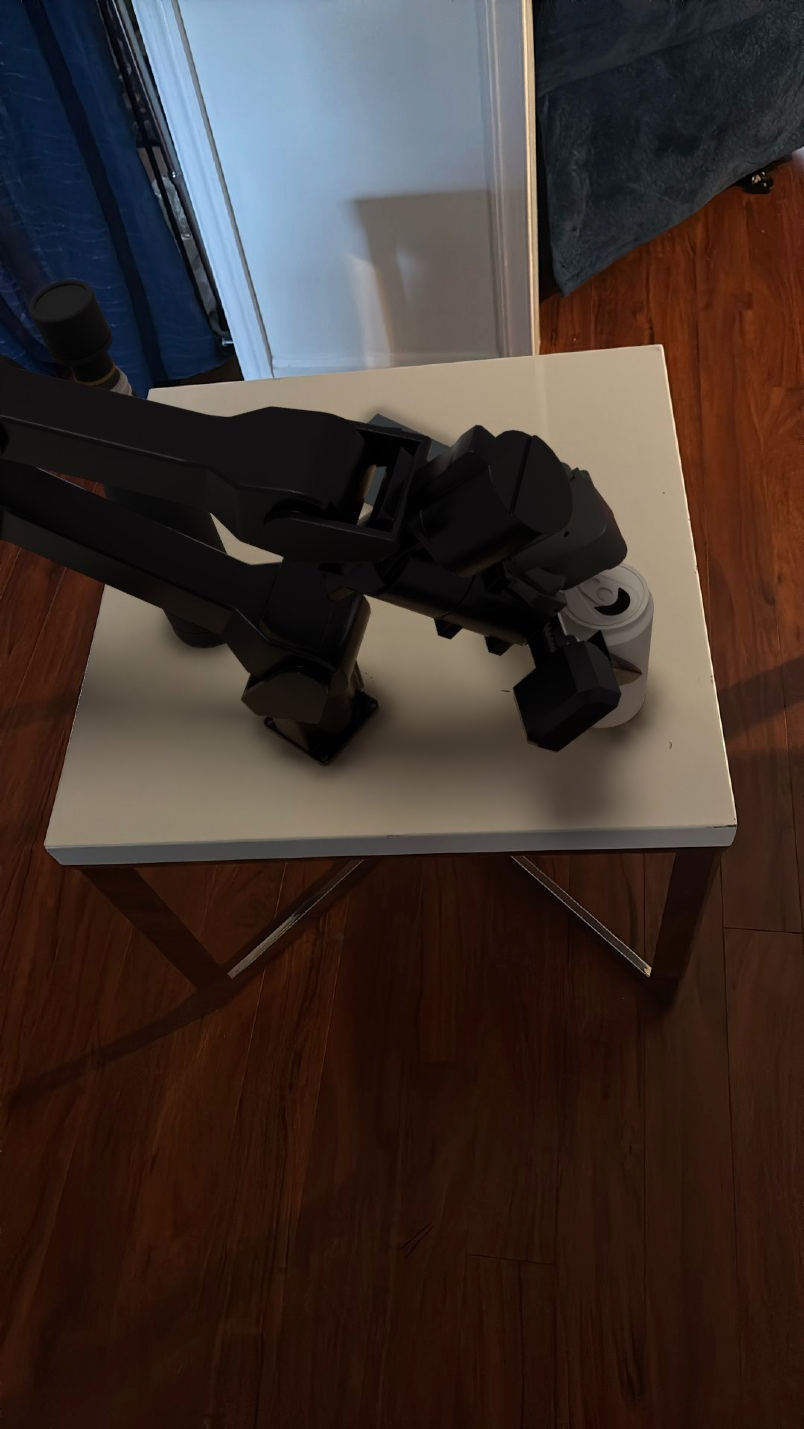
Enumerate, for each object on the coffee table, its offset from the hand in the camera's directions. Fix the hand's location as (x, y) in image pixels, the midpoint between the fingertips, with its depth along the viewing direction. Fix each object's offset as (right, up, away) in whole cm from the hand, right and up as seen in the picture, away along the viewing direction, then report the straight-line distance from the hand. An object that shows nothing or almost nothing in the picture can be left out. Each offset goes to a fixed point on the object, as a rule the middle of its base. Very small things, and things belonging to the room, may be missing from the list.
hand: (622, 638), depth 70 cm
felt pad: (-16, +17, +21) cm, 32 cm away
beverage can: (0, -4, +6) cm, 7 cm away
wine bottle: (-30, +3, +15) cm, 34 cm away
